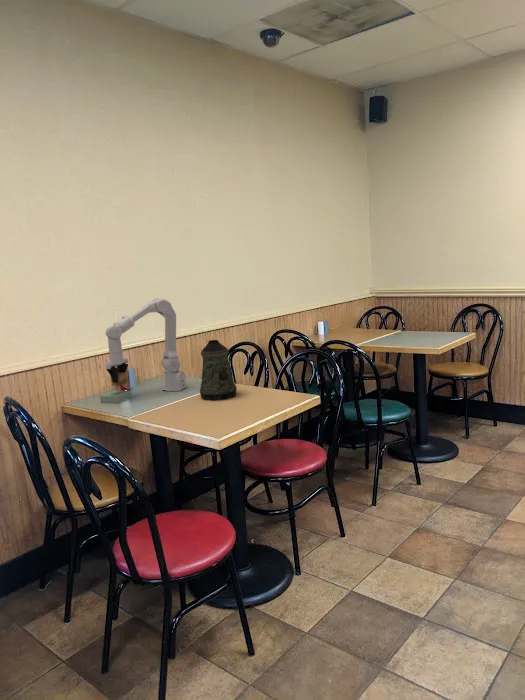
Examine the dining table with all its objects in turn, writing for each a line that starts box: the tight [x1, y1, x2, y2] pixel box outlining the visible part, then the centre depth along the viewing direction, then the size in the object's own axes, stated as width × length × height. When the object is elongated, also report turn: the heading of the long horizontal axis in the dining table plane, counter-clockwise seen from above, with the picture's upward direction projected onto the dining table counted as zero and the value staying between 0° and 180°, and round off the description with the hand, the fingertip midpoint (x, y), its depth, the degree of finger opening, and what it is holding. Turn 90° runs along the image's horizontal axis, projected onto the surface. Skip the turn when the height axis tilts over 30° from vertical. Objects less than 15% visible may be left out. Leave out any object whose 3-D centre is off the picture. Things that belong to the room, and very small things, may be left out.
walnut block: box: [110, 372, 127, 387], centre depth 255 cm, size 5×5×5 cm
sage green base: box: [99, 390, 133, 404], centre depth 256 cm, size 10×10×3 cm
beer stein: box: [199, 339, 238, 402], centre depth 248 cm, size 16×19×25 cm
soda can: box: [115, 366, 131, 391], centre depth 274 cm, size 7×7×12 cm
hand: (119, 381), depth 256 cm, fingers closed on walnut block, 5 cm apart
